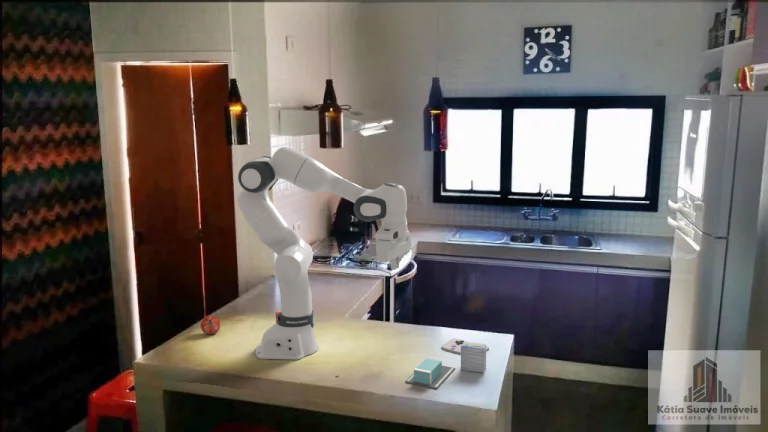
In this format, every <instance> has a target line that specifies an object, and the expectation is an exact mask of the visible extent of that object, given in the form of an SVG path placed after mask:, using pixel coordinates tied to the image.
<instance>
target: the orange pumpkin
mask: <svg viewBox="0 0 768 432" xmlns="http://www.w3.org/2000/svg"><path fill="white" fill-rule="evenodd" d="M199 325H200V329H201V332H202V333H204V334H205V335H214V334H217V333H218V332H219V331H220V328H221V321H220V319H219V318H218V317H215V316H213V315H207V316H204V318H203V319H202V320H201V321H200V324H199Z"/></svg>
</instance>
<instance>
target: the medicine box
mask: <svg viewBox="0 0 768 432" xmlns="http://www.w3.org/2000/svg"><path fill="white" fill-rule="evenodd" d="M486 346H487V344H486V343H481V342H472V341H471V342H470V341H467V342H463V344H462V345H461V354H460V370H461V371H466V372H474V373H483V374H484V373H485V372H486V369H487V351H486Z"/></svg>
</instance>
